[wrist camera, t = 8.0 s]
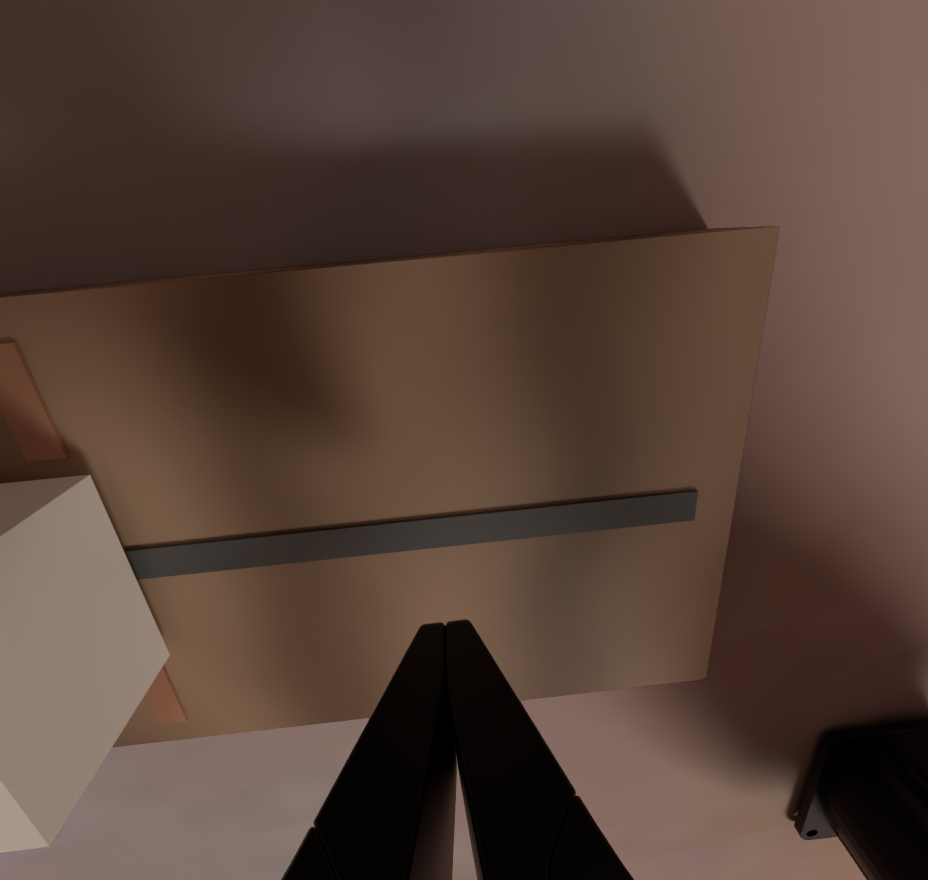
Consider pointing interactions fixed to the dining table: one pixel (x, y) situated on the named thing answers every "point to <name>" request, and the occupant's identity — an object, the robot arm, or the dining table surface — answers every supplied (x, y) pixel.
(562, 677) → the brown flat block
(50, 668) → the fader knob
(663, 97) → the dining table surface
